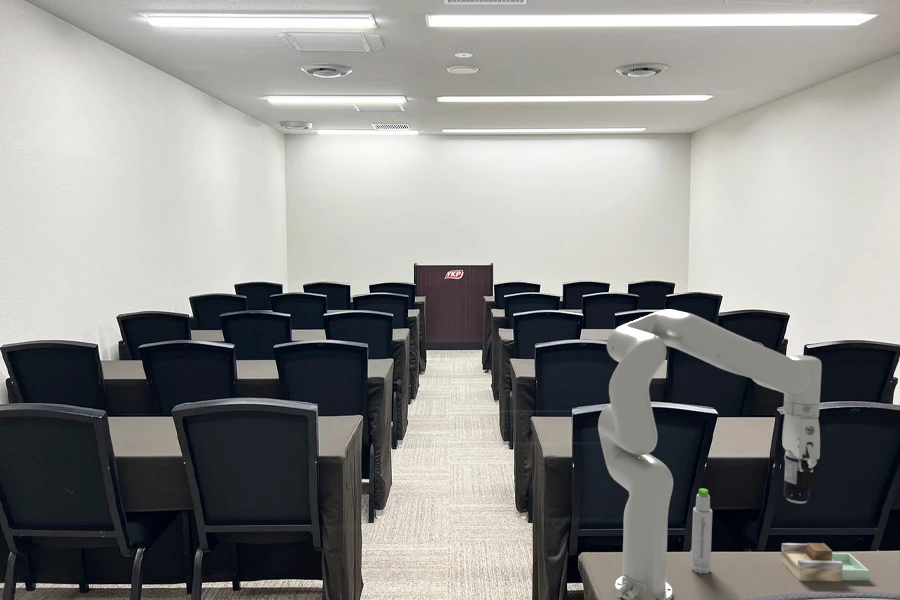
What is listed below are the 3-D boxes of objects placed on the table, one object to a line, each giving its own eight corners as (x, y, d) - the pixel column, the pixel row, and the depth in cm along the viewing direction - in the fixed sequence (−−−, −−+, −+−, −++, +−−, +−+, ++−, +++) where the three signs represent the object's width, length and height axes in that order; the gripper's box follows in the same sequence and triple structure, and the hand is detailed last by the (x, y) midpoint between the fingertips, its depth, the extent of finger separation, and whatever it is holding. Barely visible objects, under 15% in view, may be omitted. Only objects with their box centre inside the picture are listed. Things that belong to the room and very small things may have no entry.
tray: (840, 580, 166) (841, 569, 166) (822, 562, 175) (822, 552, 174) (868, 580, 166) (868, 570, 165) (848, 562, 174) (849, 552, 174)
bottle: (688, 570, 171) (691, 490, 169) (694, 563, 174) (697, 485, 172) (706, 575, 168) (710, 494, 166) (712, 568, 172) (715, 489, 170)
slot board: (799, 580, 166) (800, 562, 165) (780, 560, 176) (781, 543, 175) (841, 581, 165) (842, 562, 165) (821, 561, 175) (822, 543, 175)
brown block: (814, 562, 168) (815, 550, 168) (806, 554, 172) (807, 543, 172) (831, 562, 168) (832, 550, 168) (823, 555, 172) (824, 543, 172)
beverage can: (812, 505, 165) (815, 456, 164) (786, 503, 167) (789, 454, 165) (805, 496, 171) (808, 448, 170) (780, 494, 172) (783, 447, 171)
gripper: (835, 418, 158) (831, 496, 160) (800, 399, 175) (797, 470, 177) (801, 418, 158) (797, 496, 160) (770, 399, 175) (766, 469, 177)
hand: (797, 481), depth 168 cm, fingers closed on beverage can, 5 cm apart
